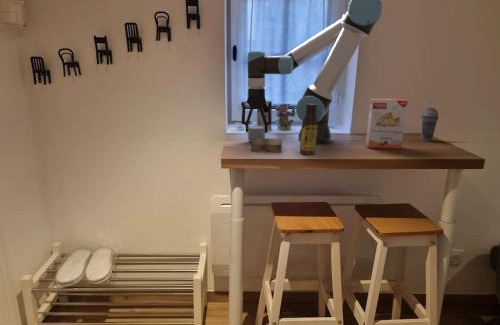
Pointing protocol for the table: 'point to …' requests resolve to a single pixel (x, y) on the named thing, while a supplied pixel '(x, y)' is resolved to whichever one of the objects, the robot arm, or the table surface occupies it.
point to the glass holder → (260, 119)
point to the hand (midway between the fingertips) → (256, 139)
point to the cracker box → (386, 123)
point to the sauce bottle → (309, 131)
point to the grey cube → (255, 132)
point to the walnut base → (266, 145)
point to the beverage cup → (428, 123)
